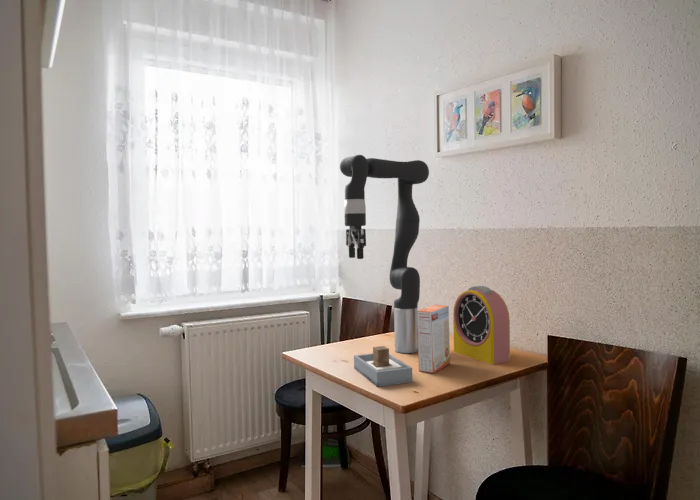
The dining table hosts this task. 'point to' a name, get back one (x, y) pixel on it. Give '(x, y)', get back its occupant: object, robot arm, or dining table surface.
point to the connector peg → (380, 356)
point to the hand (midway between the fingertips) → (356, 258)
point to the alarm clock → (482, 326)
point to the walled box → (383, 370)
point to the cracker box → (433, 338)
